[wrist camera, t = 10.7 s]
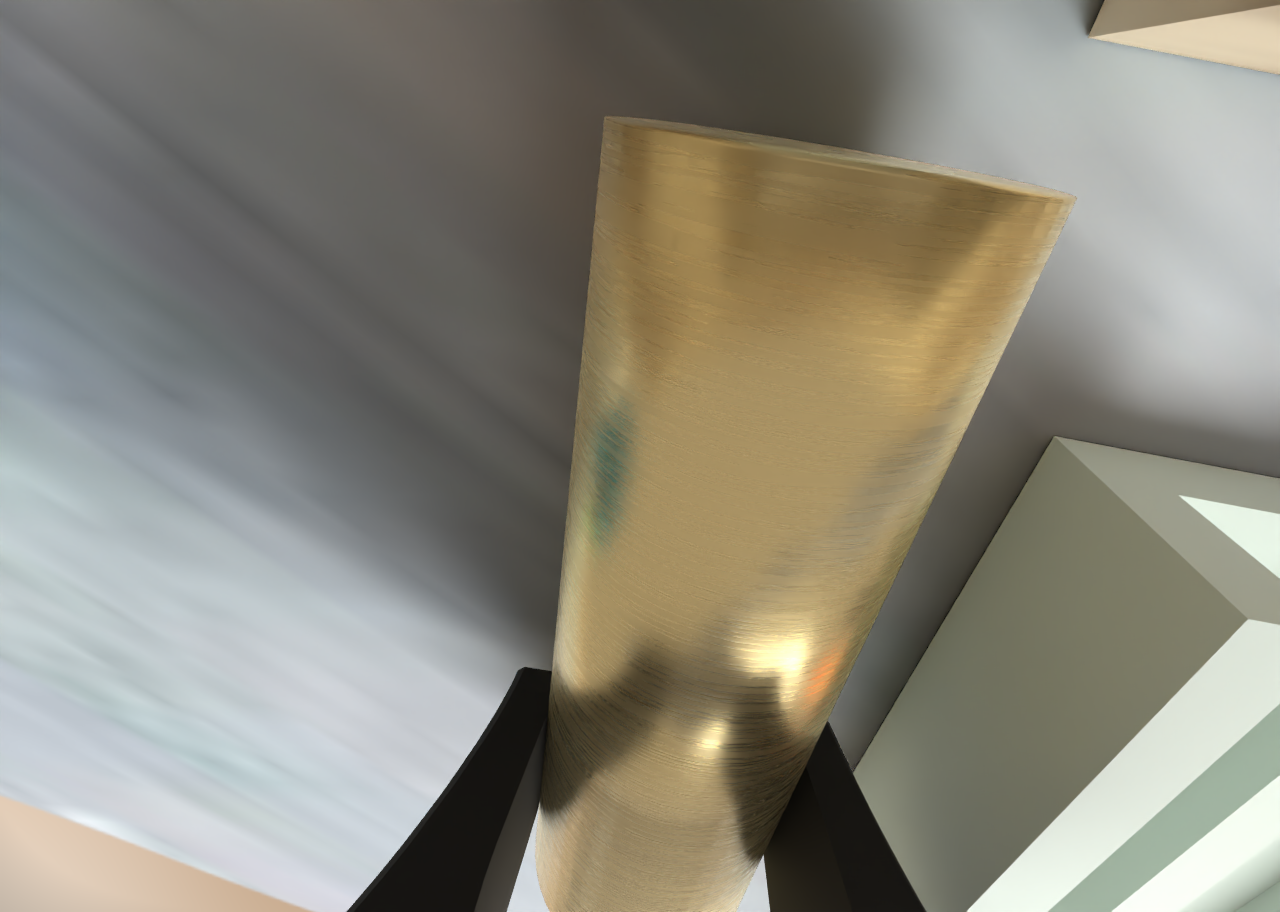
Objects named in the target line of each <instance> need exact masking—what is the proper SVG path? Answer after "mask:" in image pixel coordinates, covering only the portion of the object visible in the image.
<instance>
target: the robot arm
mask: <svg viewBox="0 0 1280 912" xmlns="http://www.w3.org/2000/svg"><path fill="white" fill-rule="evenodd" d="M551 676H552V671H546V670H540V669H534V668H528V667H524V668H522V669H520V670H518V672H517V674H516V676H515V678H514V680H513V682H512V684H511V686H510V688H509V690H508V692H507V694H506V696H505V697H504V699H503V701H502V703H501V704H500V706H499V708H498V710H497V711H496V713H495V715H494V716H493V718H492V720H491V721H490V723H489V724H488V726H487V728H486V729H485V731H484V732H483V734H482V735H481V737H480V739H479V740H478V742H477V743H476V745H475V746H474V748H473V749H472V751H471V752H470V754H469V755H468V756H467V758H466V759H465V761H464V762H463V764H462V765H461V767H460V768H459V770H458V771H457V773H456V774H455V775H454V777H453V778H452V780H451V781H450V783H449V784H448V786H447V787H446V788H445V790H444V791H443V792H442V794H441V795H440V796H439V798H438V799H437V800H436V802H435V803H434V804H433V806H432V807H431V808H430V810H429V811H428V812H427V814H426V815H425V816H424V818H423V819H422V820H421V822H420V823H419V824H418V825H417V827H416V828H415V829H414V831H413V832H412V833H411V835H410V836H409V837H408V839H407V840H406V841H405V842H404V844H403V845H402V846H401V847H400V849H399V850H398V851H397V852H396V854H395V855H394V856H393V857H392V859H391V860H390V861H389V862H388V864H387V865H386V866H385V867H384V868H383V870H382V871H381V872H380V873H379V874H378V876H377V877H376V878H375V879H374V880H373V882H372V883H371V884H370V885H369V886H368V887H367V889H366V890H365V891H364V892H363V893H362V894H361V896H360V897H359V898H358V899H357V900H356V901H355V903H354V904H353V905H352V906H351V907H350V908H349V910H348V911H347V912H507V908H508V905H509V902H510V899H511V895H512V892H513V889H514V886H515V882H516V879H517V876H518V873H519V869H520V866H521V863H522V859H523V856H524V853H525V850H526V846H527V843H528V840H529V837H530V833H531V830H532V827H533V823H534V820H535V817H536V814H537V810H538V807H539V802H540V794H541V784H542V773H543V763H544V752H545V741H546V731H547V720H548V707H549V697H550V686H551ZM764 861H765V870H766V879H767V887H768V896H769V904H770V912H927V911H926V910H925V908H924V906H923V905H922V903H921V901H920V900H919V898H918V896H917V894H916V892H915V891H914V889H913V887H912V885H911V884H910V882H909V880H908V878H907V877H906V875H905V873H904V871H903V869H902V867H901V866H900V864H899V862H898V860H897V858H896V856H895V854H894V853H893V851H892V849H891V847H890V845H889V843H888V841H887V840H886V838H885V836H884V834H883V832H882V830H881V828H880V827H879V825H878V823H877V821H876V819H875V817H874V815H873V813H872V811H871V809H870V807H869V805H868V803H867V801H866V799H865V797H864V795H863V793H862V791H861V789H860V787H859V785H858V783H857V781H856V779H855V777H854V775H853V773H852V771H851V769H850V766H849V764H848V762H847V760H846V758H845V756H844V754H843V752H842V750H841V747H840V745H839V743H838V741H837V739H836V737H835V735H834V732H833V730H832V728H831V726H830V724H829V722H828V721H827V722H826V724H825V726H824V729H823V731H822V733H821V735H820V737H819V739H818V741H817V743H816V745H815V747H814V749H813V752H812V754H811V756H810V758H809V760H808V762H807V764H806V766H805V768H804V770H803V772H802V775H801V777H800V779H799V781H798V783H797V785H796V787H795V789H794V791H793V793H792V795H791V798H790V800H789V802H788V804H787V806H786V808H785V810H784V812H783V814H782V816H781V818H780V821H779V823H778V825H777V827H776V829H775V831H774V833H773V835H772V837H771V839H770V841H769V844H768V846H767V848H766V850H765V852H764Z"/></svg>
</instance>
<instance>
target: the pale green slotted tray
mask: <svg viewBox="0 0 1280 912" xmlns="http://www.w3.org/2000/svg"><path fill="white" fill-rule="evenodd" d="M853 775H854V777H855V779H856V781H857V783H858V785H859V787H860V789H861V791H862V793H863V795H864V797H865V799H866V801H867V803H868V805H869V807H870V809H871V811H872V813H873V815H874V817H875V819H876V821H877V823H878V825H879V827H880V828H881V830H882V832H883V834H884V836H885V838H886V840H887V841H888V843H889V845H890V847H891V849H892V851H893V853H894V854H895V856H896V858H897V860H898V862H899V864H900V866H901V867H902V869H903V871H904V873H905V875H906V877H907V878H908V880H909V882H910V884H911V885H912V887H913V889H914V891H915V892H916V894H917V896H918V898H919V900H920V901H921V903H922V905H923V906H924V908H925V910H926V911H927V912H1280V478H1274V477H1269V476H1264V475H1259V474H1253V473H1248V472H1243V471H1237V470H1232V469H1227V468H1221V467H1216V466H1211V465H1205V464H1200V463H1195V462H1189V461H1184V460H1179V459H1173V458H1168V457H1163V456H1158V455H1152V454H1147V453H1142V452H1136V451H1131V450H1126V449H1120V448H1115V447H1110V446H1104V445H1099V444H1094V443H1088V442H1083V441H1078V440H1072V439H1067V438H1062V437H1057V436H1054V437H1053V439H1052V441H1051V442H1050V444H1049V446H1048V447H1047V449H1046V451H1045V452H1044V454H1043V456H1042V457H1041V459H1040V461H1039V462H1038V464H1037V466H1036V468H1035V469H1034V471H1033V473H1032V474H1031V476H1030V478H1029V479H1028V481H1027V483H1026V484H1025V486H1024V488H1023V489H1022V491H1021V493H1020V494H1019V496H1018V498H1017V499H1016V501H1015V503H1014V504H1013V506H1012V508H1011V509H1010V511H1009V513H1008V514H1007V516H1006V518H1005V519H1004V521H1003V523H1002V524H1001V526H1000V528H999V529H998V531H997V533H996V534H995V536H994V538H993V539H992V541H991V543H990V545H989V546H988V548H987V550H986V551H985V553H984V555H983V556H982V558H981V560H980V561H979V563H978V565H977V566H976V568H975V570H974V571H973V573H972V575H971V576H970V578H969V580H968V581H967V583H966V585H965V586H964V588H963V590H962V591H961V593H960V595H959V596H958V598H957V600H956V601H955V603H954V605H953V606H952V608H951V610H950V611H949V613H948V615H947V617H946V618H945V620H944V622H943V623H942V625H941V627H940V628H939V630H938V632H937V633H936V635H935V637H934V638H933V640H932V642H931V643H930V645H929V647H928V648H927V650H926V652H925V653H924V655H923V657H922V658H921V660H920V662H919V663H918V665H917V667H916V668H915V670H914V672H913V673H912V675H911V677H910V678H909V680H908V682H907V683H906V685H905V687H904V688H903V690H902V692H901V694H900V695H899V697H898V699H897V700H896V702H895V704H894V705H893V707H892V709H891V710H890V712H889V714H888V715H887V717H886V719H885V720H884V722H883V724H882V725H881V727H880V729H879V730H878V732H877V734H876V735H875V737H874V739H873V740H872V742H871V744H870V745H869V747H868V749H867V750H866V752H865V754H864V755H863V757H862V759H861V760H860V762H859V764H858V766H857V767H856V769H855V771H854V772H853Z"/></svg>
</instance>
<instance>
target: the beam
mask: <svg viewBox="0 0 1280 912" xmlns="http://www.w3.org/2000/svg"><path fill="white" fill-rule="evenodd" d="M1088 38H1092V39H1097V40H1103V41H1108V42H1113V43H1118V44H1123V45H1129V46H1134V47H1139V48H1144V49H1149V50H1154V51H1160V52H1165V53H1170V54H1175V55H1180V56H1186V57H1191V58H1196V59H1201V60H1206V61H1212V62H1217V63H1222V64H1227V65H1232V66H1237V67H1243V68H1248V69H1253V70H1258V71H1263V72H1269V73H1274V74H1279V75H1280V0H1105V1H1104V3H1103V5H1102V7H1101V10H1100V12H1099V14H1098V16H1097V18H1096V21H1095V23H1094V25H1093V27H1092V29H1091V32H1090V34H1089V36H1088Z"/></svg>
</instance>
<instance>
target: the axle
mask: <svg viewBox="0 0 1280 912" xmlns="http://www.w3.org/2000/svg"><path fill="white" fill-rule="evenodd" d="M1076 200H1077V197H1076V196H1073V195H1070V194H1067V193H1064V192H1061V191H1057V190H1053V189H1049V188H1045V187H1041V186H1037V185H1032V184H1028V183H1023V182H1019V181H1014V180H1010V179H1005V178H1000V177H995V176H991V175H986V174H981V173H976V172H971V171H966V170H961V169H955V168H950V167H945V166H940V165H935V164H929V163H924V162H919V161H913V160H908V159H902V158H897V157H891V156H886V155H880V154H874V153H869V152H863V151H857V150H852V149H846V148H840V147H834V146H828V145H822V144H816V143H810V142H804V141H798V140H792V139H786V138H779V137H773V136H767V135H760V134H754V133H748V132H741V131H734V130H728V129H721V128H714V127H707V126H700V125H693V124H685V123H678V122H670V121H662V120H654V119H645V118H635V117H623V116H606V117H604V127H603V137H602V148H601V159H600V169H599V180H598V190H597V201H596V211H595V222H594V232H593V243H592V253H591V264H590V275H589V285H588V296H587V306H586V317H585V327H584V338H583V348H582V359H581V370H580V380H579V391H578V401H577V412H576V422H575V433H574V443H573V454H572V465H571V475H570V486H569V496H568V507H567V517H566V528H565V538H564V549H563V560H562V570H561V581H560V591H559V602H558V612H557V623H556V633H555V644H554V654H553V665H552V676H551V686H550V697H549V707H548V720H547V731H546V741H545V752H544V763H543V773H542V784H541V794H540V802H539V813H538V823H537V834H536V850H535V859H536V870H537V876H538V880H539V885H540V889H541V892H542V894H543V897H544V900H545V903H546V905H547V907H548V909H549V911H550V912H736V910H737V908H738V906H739V904H740V902H741V900H742V898H743V896H744V894H745V892H746V890H747V887H748V885H749V883H750V881H751V879H752V877H753V875H754V873H755V871H756V869H757V867H758V864H759V862H760V860H761V858H762V856H763V854H764V852H765V850H766V848H767V846H768V844H769V841H770V839H771V837H772V835H773V833H774V831H775V829H776V827H777V825H778V823H779V821H780V818H781V816H782V814H783V812H784V810H785V808H786V806H787V804H788V802H789V800H790V798H791V795H792V793H793V791H794V789H795V787H796V785H797V783H798V781H799V779H800V777H801V775H802V772H803V770H804V768H805V766H806V764H807V762H808V760H809V758H810V756H811V754H812V752H813V749H814V747H815V745H816V743H817V741H818V739H819V737H820V735H821V733H822V731H823V729H824V726H825V724H826V722H827V720H828V718H829V716H830V714H831V712H832V710H833V708H834V706H835V703H836V701H837V699H838V697H839V695H840V693H841V691H842V689H843V687H844V685H845V683H846V680H847V678H848V676H849V674H850V672H851V670H852V668H853V666H854V664H855V662H856V660H857V657H858V655H859V653H860V651H861V649H862V647H863V645H864V643H865V641H866V639H867V637H868V634H869V632H870V630H871V628H872V626H873V624H874V622H875V620H876V618H877V616H878V614H879V611H880V609H881V607H882V605H883V603H884V601H885V599H886V597H887V595H888V593H889V591H890V588H891V586H892V584H893V582H894V580H895V578H896V576H897V574H898V572H899V570H900V568H901V565H902V563H903V561H904V559H905V557H906V555H907V553H908V551H909V549H910V547H911V545H912V542H913V540H914V538H915V536H916V534H917V532H918V530H919V528H920V526H921V524H922V522H923V519H924V517H925V515H926V513H927V511H928V509H929V507H930V505H931V503H932V501H933V499H934V496H935V494H936V492H937V490H938V488H939V486H940V484H941V482H942V480H943V478H944V476H945V473H946V471H947V469H948V467H949V465H950V463H951V461H952V459H953V457H954V455H955V453H956V450H957V448H958V446H959V444H960V442H961V440H962V438H963V436H964V434H965V432H966V430H967V427H968V425H969V423H970V421H971V419H972V417H973V415H974V413H975V411H976V409H977V407H978V404H979V402H980V400H981V398H982V396H983V394H984V392H985V390H986V388H987V386H988V384H989V381H990V379H991V377H992V375H993V373H994V371H995V369H996V367H997V365H998V363H999V361H1000V358H1001V356H1002V354H1003V352H1004V350H1005V348H1006V346H1007V344H1008V342H1009V340H1010V338H1011V335H1012V333H1013V331H1014V329H1015V327H1016V325H1017V323H1018V321H1019V319H1020V317H1021V315H1022V312H1023V310H1024V308H1025V306H1026V304H1027V302H1028V300H1029V298H1030V296H1031V294H1032V292H1033V289H1034V287H1035V285H1036V283H1037V281H1038V279H1039V277H1040V275H1041V273H1042V271H1043V269H1044V266H1045V264H1046V262H1047V260H1048V258H1049V256H1050V254H1051V252H1052V250H1053V248H1054V246H1055V243H1056V241H1057V239H1058V237H1059V235H1060V233H1061V231H1062V229H1063V227H1064V225H1065V223H1066V220H1067V218H1068V216H1069V214H1070V212H1071V210H1072V208H1073V206H1074V204H1075V202H1076Z"/></svg>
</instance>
